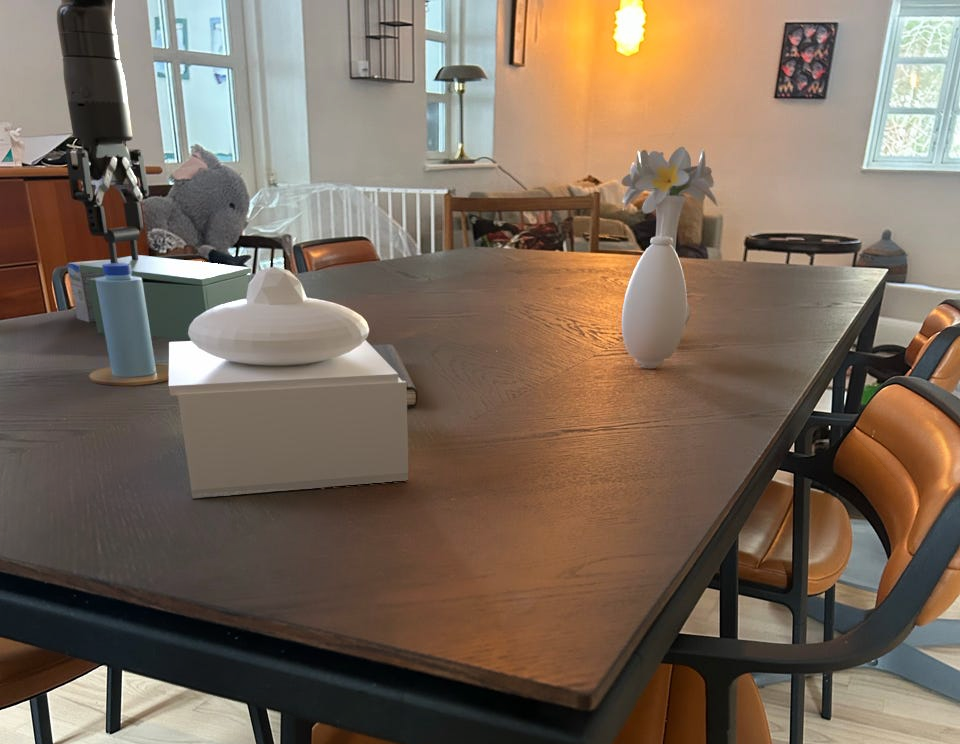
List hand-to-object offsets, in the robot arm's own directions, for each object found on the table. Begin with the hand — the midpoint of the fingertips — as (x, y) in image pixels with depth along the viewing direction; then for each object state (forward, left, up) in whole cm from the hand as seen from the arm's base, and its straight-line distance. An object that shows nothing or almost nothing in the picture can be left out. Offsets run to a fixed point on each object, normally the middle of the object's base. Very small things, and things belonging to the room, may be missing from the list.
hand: (117, 233), depth 128 cm
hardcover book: (+37, -29, -13) cm, 49 cm away
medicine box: (-6, +6, -13) cm, 16 cm away
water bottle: (+13, -28, -13) cm, 33 cm away
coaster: (+13, -28, -13) cm, 34 cm away
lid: (+7, -1, -5) cm, 9 cm away
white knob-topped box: (+40, -57, -13) cm, 71 cm away
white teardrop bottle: (+75, -13, -13) cm, 77 cm away
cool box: (+8, -1, -13) cm, 15 cm away
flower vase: (+77, +9, -13) cm, 78 cm away
